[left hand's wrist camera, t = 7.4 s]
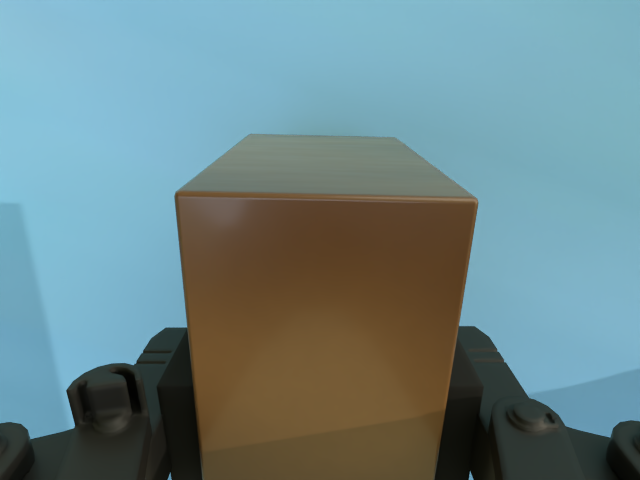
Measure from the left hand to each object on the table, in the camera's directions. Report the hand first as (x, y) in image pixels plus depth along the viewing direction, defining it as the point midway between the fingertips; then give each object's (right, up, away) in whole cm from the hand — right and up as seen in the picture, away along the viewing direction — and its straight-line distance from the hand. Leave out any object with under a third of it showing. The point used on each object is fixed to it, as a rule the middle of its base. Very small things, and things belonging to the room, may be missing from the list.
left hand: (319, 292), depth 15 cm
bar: (-1, -26, +10) cm, 28 cm away
